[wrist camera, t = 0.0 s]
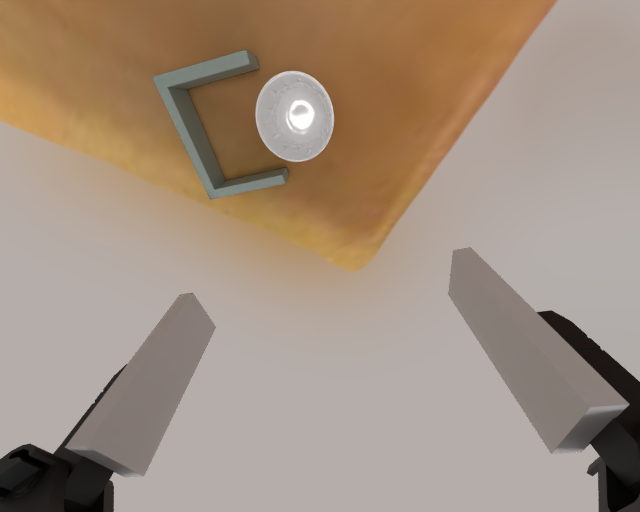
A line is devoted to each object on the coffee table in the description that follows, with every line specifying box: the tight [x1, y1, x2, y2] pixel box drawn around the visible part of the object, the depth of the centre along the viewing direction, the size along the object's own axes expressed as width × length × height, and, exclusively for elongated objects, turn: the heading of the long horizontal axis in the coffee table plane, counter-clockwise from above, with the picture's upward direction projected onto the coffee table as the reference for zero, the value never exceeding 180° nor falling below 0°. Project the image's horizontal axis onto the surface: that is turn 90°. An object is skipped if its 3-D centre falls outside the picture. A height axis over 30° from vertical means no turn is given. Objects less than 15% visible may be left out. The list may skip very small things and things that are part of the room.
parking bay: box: [152, 50, 289, 199], centre depth 31 cm, size 14×11×4 cm
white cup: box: [255, 71, 334, 162], centre depth 28 cm, size 8×8×10 cm
